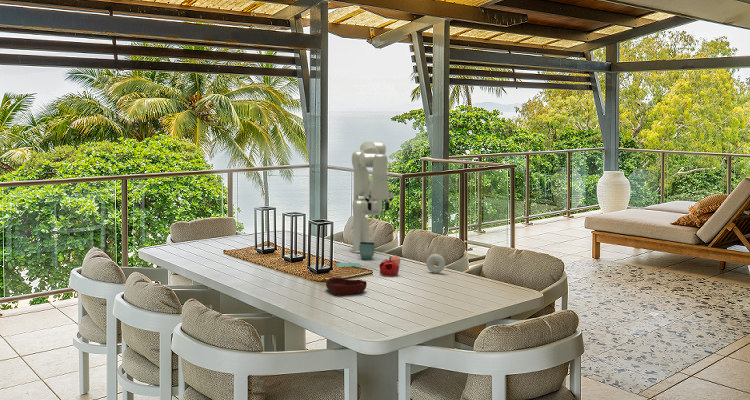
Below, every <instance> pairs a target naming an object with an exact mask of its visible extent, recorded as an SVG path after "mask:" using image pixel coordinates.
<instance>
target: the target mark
mask: <svg viewBox="0 0 750 400" xmlns="http://www.w3.org/2000/svg"><path fill="white" fill-rule="evenodd" d="M336 265H337V268H338V267H342V266H343V267H344V266H355V267H359V268H360V269H362V266H361V265H360V262H336ZM359 268H358V269H359Z"/></svg>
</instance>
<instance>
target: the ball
mask: <svg viewBox="0 0 750 400" xmlns="http://www.w3.org/2000/svg"><path fill="white" fill-rule="evenodd" d="M390 257H391V261H392V260H394V261H393V262H395V263H396V264H397V265H398V266H399V265H400V264H401V258H400V257H399V256H398V255H393V256H390ZM395 260H397V261H395Z"/></svg>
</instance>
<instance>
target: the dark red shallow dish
mask: <svg viewBox="0 0 750 400" xmlns="http://www.w3.org/2000/svg"><path fill="white" fill-rule="evenodd" d="M367 284H368V283H367V281H366V280H363V279H346V278H344V277H341V276H340V277H335V276H334V277H330V278H329V279H328V278H327V279H326V281H325V286H326V288H327V290H329V291H330V293H332V294H333V295H334V296H339V297H341V296H345V295H346V296H347V295H351V294H352V295H353V294H359V293H363V292H364V291H365V290H366V289H367Z"/></svg>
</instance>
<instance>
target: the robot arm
mask: <svg viewBox="0 0 750 400" xmlns="http://www.w3.org/2000/svg"><path fill="white" fill-rule="evenodd" d="M386 153H387V148H386V145H385V143H384V142H382V141H372V140H371V141H364V142H362V144H360V148H359V150H356V151H353V152H352V154H351V164H352V168H353V170H354V192H355V193H354V194H355V195H356V196H357V197H363V198H357V199H355V200H354V201H352V204H351V205H352V217H353V218H352V219H353V222H352V223H353V226H352V247H351V248H350V249H349V251H350V252H351V253H354V254H360V249H359V244H360V242H370V241H369V240H370V221H369V219H368V217H366V216H378V215H380V214H381V213H382V210H383V201H384V200H385V205H384V206H385V207H384V208H385V210H386V211H387V212H388V211H389V209H390V203H391V202H392V201H393V199H394V198H395V194H394V193H392V192H390V189H389V181H388V179H390V175H388V156H387V154H386ZM368 168H372V175H371V177H372V180H371V179H370V171H369V169H368Z"/></svg>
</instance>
